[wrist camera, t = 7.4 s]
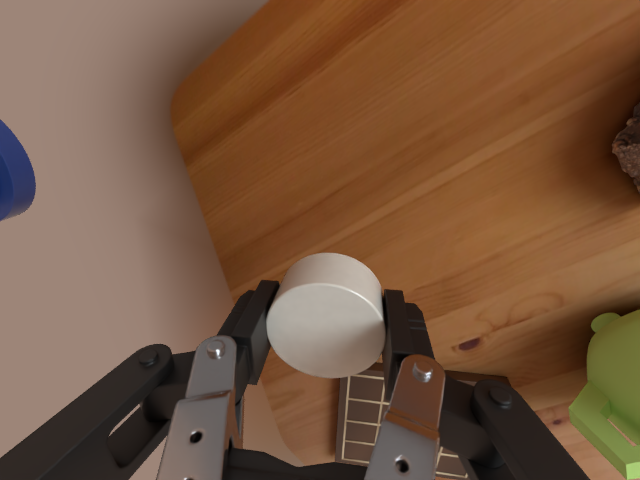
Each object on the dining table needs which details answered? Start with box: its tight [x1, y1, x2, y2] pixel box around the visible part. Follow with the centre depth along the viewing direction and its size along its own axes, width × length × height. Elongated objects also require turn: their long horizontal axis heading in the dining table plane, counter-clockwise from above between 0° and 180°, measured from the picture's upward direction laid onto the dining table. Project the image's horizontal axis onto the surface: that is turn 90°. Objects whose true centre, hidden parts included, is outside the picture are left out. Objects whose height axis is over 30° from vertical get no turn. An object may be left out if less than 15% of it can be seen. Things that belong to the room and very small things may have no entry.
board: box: [335, 362, 511, 480], centre depth 37 cm, size 18×18×1 cm
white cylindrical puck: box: [266, 253, 386, 378], centre depth 13 cm, size 5×5×2 cm
